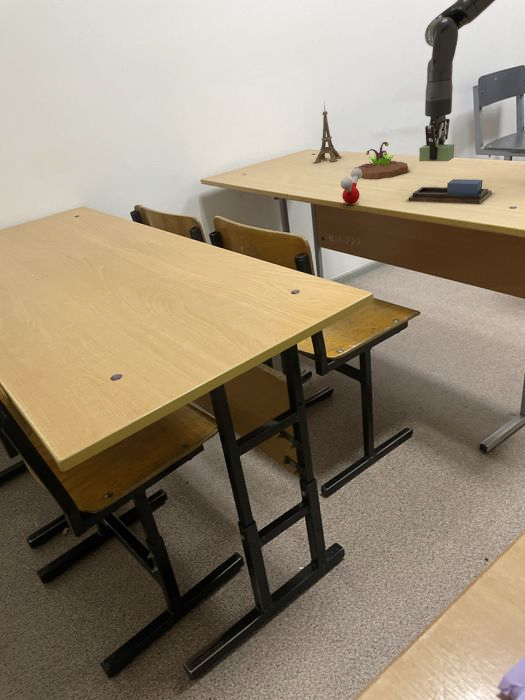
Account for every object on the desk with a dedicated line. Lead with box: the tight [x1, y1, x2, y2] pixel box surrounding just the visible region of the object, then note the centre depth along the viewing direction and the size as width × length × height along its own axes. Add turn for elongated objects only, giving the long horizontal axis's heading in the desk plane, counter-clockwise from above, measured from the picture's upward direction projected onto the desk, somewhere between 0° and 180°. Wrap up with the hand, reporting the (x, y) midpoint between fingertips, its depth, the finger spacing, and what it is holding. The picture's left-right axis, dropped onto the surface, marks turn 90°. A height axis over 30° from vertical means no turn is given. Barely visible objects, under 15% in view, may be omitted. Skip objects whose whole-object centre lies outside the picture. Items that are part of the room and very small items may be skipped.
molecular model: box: [340, 167, 363, 205], centre depth 172 cm, size 18×6×10 cm, turn 165°
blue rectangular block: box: [446, 178, 484, 195], centre depth 163 cm, size 9×5×4 cm, turn 54°
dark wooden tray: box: [408, 186, 493, 205], centre depth 166 cm, size 22×12×2 cm, turn 54°
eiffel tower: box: [313, 102, 343, 164], centre depth 240 cm, size 11×11×25 cm
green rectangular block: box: [418, 143, 455, 162], centre depth 163 cm, size 9×5×4 cm, turn 54°
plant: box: [353, 141, 409, 180], centre depth 207 cm, size 20×20×11 cm
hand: (436, 157), depth 163 cm, fingers closed on green rectangular block, 5 cm apart
